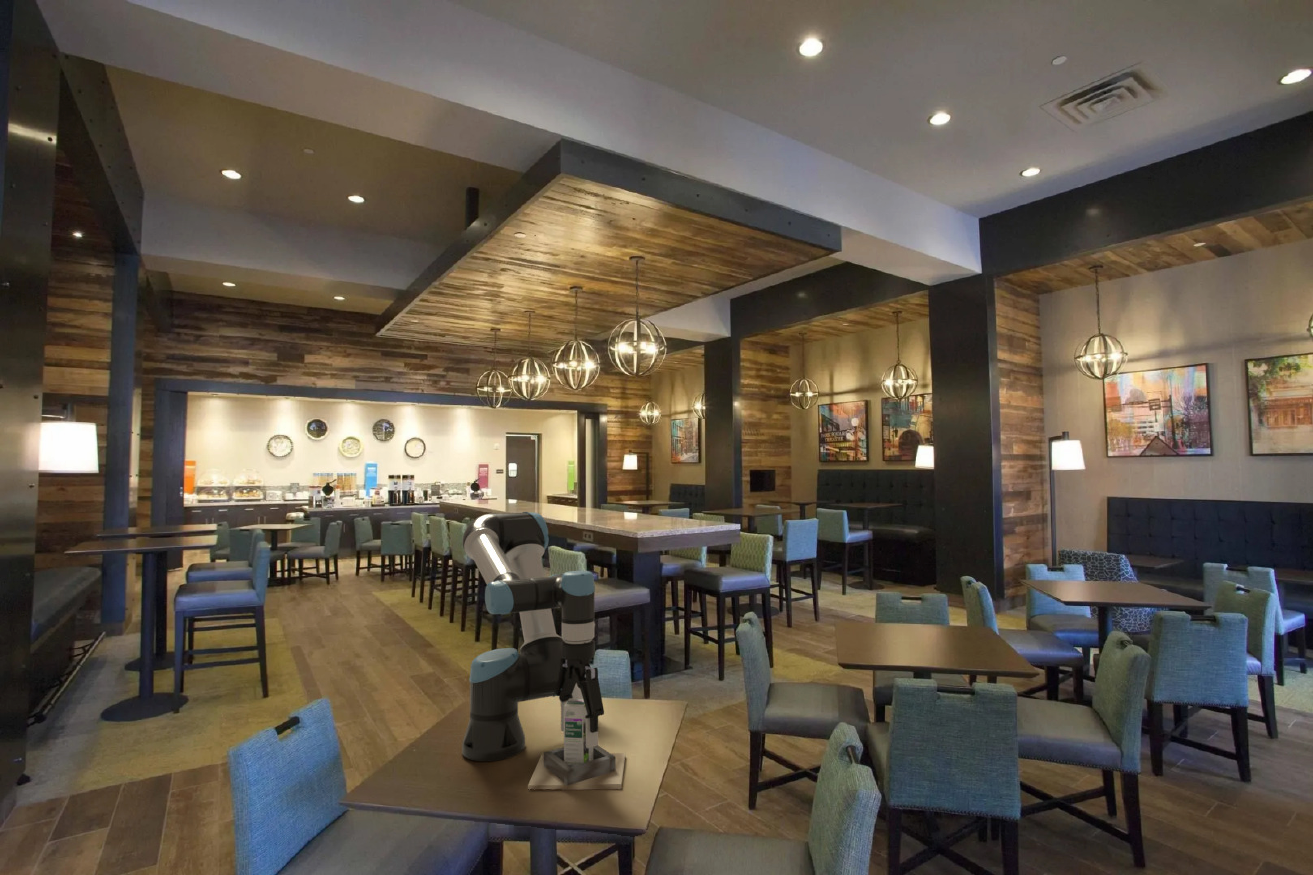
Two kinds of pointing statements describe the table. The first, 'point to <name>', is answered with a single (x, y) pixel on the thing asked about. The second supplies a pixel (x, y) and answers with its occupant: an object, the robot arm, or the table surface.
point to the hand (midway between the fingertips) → (579, 737)
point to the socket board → (587, 784)
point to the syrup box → (575, 733)
